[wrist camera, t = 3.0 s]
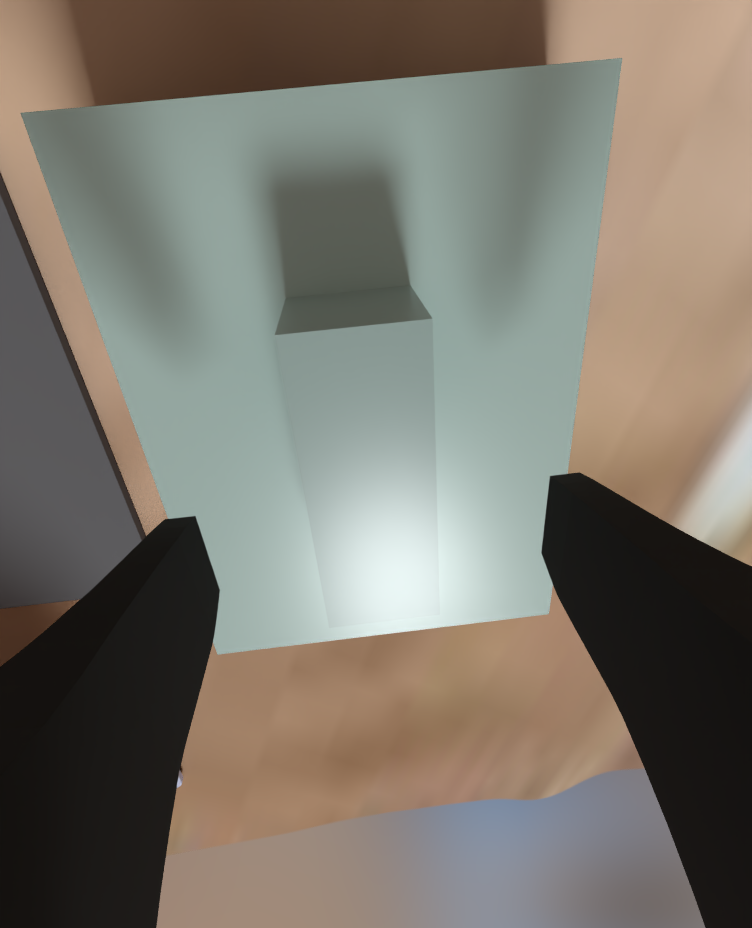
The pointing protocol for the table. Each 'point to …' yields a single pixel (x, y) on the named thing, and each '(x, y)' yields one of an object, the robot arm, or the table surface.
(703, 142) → the table surface
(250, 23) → the table surface
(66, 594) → the mat
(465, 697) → the table surface
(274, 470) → the lid
